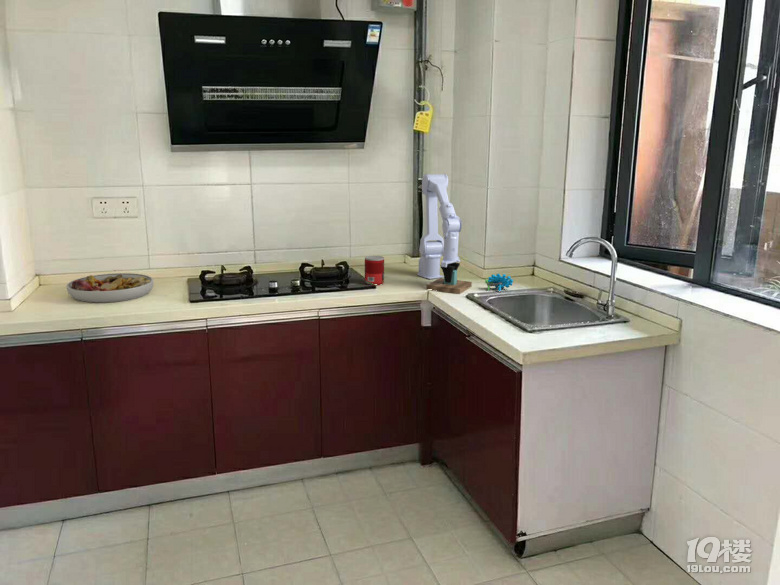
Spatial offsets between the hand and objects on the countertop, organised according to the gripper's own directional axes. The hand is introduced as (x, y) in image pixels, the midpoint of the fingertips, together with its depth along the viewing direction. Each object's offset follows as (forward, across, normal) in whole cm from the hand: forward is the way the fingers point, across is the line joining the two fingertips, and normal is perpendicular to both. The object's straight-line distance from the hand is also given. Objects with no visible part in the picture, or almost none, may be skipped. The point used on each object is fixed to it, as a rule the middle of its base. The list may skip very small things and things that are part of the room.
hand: (449, 281), depth 259 cm
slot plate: (+3, 0, 0) cm, 3 cm away
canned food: (+3, -8, +30) cm, 31 cm away
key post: (+2, 0, 0) cm, 2 cm away
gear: (+3, +7, -18) cm, 20 cm away
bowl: (+3, -73, +108) cm, 130 cm away
